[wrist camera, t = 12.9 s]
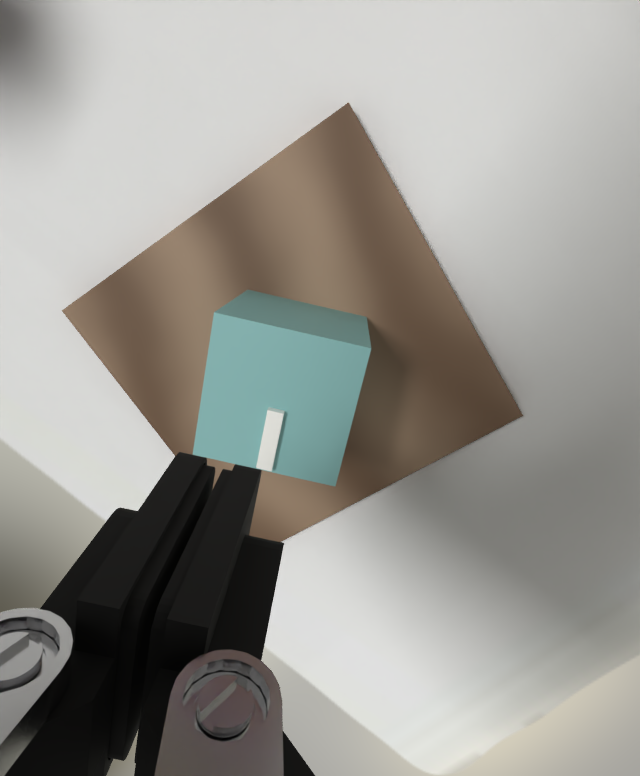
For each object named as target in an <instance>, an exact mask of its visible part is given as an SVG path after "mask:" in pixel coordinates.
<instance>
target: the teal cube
mask: <svg viewBox="0 0 640 776" xmlns="http://www.w3.org/2000/svg"><path fill="white" fill-rule="evenodd" d="M370 352H371V343H370V336H369V330H368V323H367V317H365V316H361V315H356V314H352V313H348V312H343V311H339V310H335V309H330V308H326V307H322V306H317V305H313V304H309V303H304V302H300V301H295V300H291V299H287V298H282V297H278V296H274V295H269V294H265V293H261V292H256V291H252V290H246V291H245V292H243V293H242V294H241V295H239V296H238V297H236V298H235V299H233V300H232V301H230V302H229V303H227V304H226V305H224V306H223V307H221V308H220V309H218V310H217V311H215V312H214V316H213V322H212V329H211V336H210V342H209V349H208V356H207V362H206V369H205V375H204V382H203V389H202V395H201V402H200V409H199V415H198V422H197V429H196V435H195V442H194V448H193V455H197V456H201V457H206V458H210V459H215V460H219V461H224V462H228V463H232V464H237V465H242V466H246V467H251V468H256V469H260V470H264V471H268V472H272V473H277V474H281V475H286V476H290V477H295V478H299V479H304V480H308V481H312V482H317V483H321V484H326V485H330V486H336V482H337V478H338V475H339V471H340V467H341V463H342V459H343V455H344V452H345V448H346V444H347V440H348V436H349V432H350V429H351V425H352V421H353V417H354V413H355V409H356V405H357V402H358V398H359V394H360V390H361V386H362V382H363V379H364V375H365V371H366V367H367V363H368V359H369V356H370Z"/></svg>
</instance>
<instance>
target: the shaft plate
mask: <svg viewBox="0 0 640 776" xmlns="http://www.w3.org/2000/svg"><path fill="white" fill-rule="evenodd" d="M246 290H252V291H256V292H261V293H265V294H269V295H274V296H278V297H282V298H287V299H291V300H295V301H300V302H304V303H309V304H313V305H317V306H322V307H326V308H330V309H335V310H339V311H343V312H348V313H352V314H356V315H361V316H365V317H367V323H368V330H369V336H370V343H371V352H370V356H369V359H368V363H367V367H366V371H365V375H364V379H363V382H362V386H361V390H360V394H359V398H358V402H357V405H356V409H355V413H354V417H353V421H352V425H351V429H350V432H349V436H348V440H347V444H346V448H345V452H344V455H343V459H342V463H341V467H340V471H339V475H338V478H337V482H336V486H330V485H326V484H321V483H317V482H312V481H308V480H304V479H299V478H295V477H290V476H286V475H281V474H277V473H272V472H268V471H264V470H262V472H261V478H260V483H259V488H258V493H257V498H256V503H255V508H254V513H253V518H252V523H251V528H250V533H249V536H254V537H258V538H263V539H268V540H272V541H277V542H281V541H283V540H285V539H287V538H289V537H291V536H293V535H295V534H296V533H298V532H300V531H302V530H304V529H306V528H308V527H310V526H312V525H314V524H316V523H318V522H320V521H321V520H323V519H325V518H327V517H329V516H331V515H333V514H335V513H337V512H339V511H341V510H343V509H345V508H346V507H348V506H350V505H352V504H354V503H356V502H358V501H360V500H362V499H364V498H366V497H368V496H369V495H371V494H373V493H375V492H377V491H379V490H381V489H383V488H385V487H387V486H389V485H391V484H393V483H394V482H396V481H398V480H400V479H402V478H404V477H406V476H408V475H410V474H412V473H414V472H416V471H418V470H419V469H421V468H423V467H425V466H427V465H429V464H431V463H433V462H435V461H437V460H439V459H441V458H443V457H444V456H446V455H448V454H450V453H452V452H454V451H456V450H458V449H460V448H462V447H464V446H466V445H467V444H469V443H471V442H473V441H475V440H477V439H479V438H481V437H483V436H485V435H487V434H489V433H491V432H492V431H494V430H496V429H498V428H500V427H502V426H504V425H506V424H508V423H510V422H512V421H514V420H516V419H517V418H519V417H521V416H523V415H522V413H521V411H520V410H519V408H518V406H517V404H516V402H515V401H514V399H513V397H512V395H511V393H510V392H509V390H508V388H507V386H506V384H505V383H504V381H503V379H502V377H501V375H500V374H499V372H498V370H497V368H496V366H495V365H494V363H493V361H492V359H491V357H490V356H489V354H488V352H487V350H486V348H485V347H484V345H483V343H482V341H481V340H480V338H479V336H478V334H477V332H476V331H475V329H474V327H473V325H472V323H471V322H470V320H469V318H468V316H467V314H466V313H465V311H464V309H463V307H462V305H461V304H460V302H459V300H458V298H457V296H456V295H455V293H454V291H453V289H452V287H451V286H450V284H449V282H448V280H447V278H446V277H445V275H444V273H443V271H442V269H441V268H440V266H439V264H438V262H437V260H436V259H435V257H434V255H433V253H432V251H431V250H430V248H429V246H428V244H427V242H426V241H425V239H424V237H423V235H422V233H421V232H420V230H419V228H418V226H417V224H416V223H415V221H414V219H413V217H412V216H411V214H410V212H409V210H408V208H407V207H406V205H405V203H404V201H403V199H402V198H401V196H400V194H399V192H398V190H397V189H396V187H395V185H394V183H393V181H392V180H391V178H390V176H389V174H388V172H387V171H386V169H385V167H384V165H383V163H382V162H381V160H380V158H379V156H378V154H377V153H376V151H375V149H374V147H373V145H372V144H371V142H370V140H369V138H368V136H367V135H366V133H365V131H364V129H363V127H362V126H361V124H360V122H359V120H358V118H357V117H356V115H355V113H354V111H353V109H352V108H351V106H350V104H349V103H347V104H346V105H344V106H343V107H342V108H340V109H339V110H338V111H336V112H335V113H333V114H332V115H331V116H329V117H328V118H327V119H325V120H324V121H322V122H321V123H320V124H318V125H317V126H316V127H314V128H313V129H311V130H310V131H309V132H307V133H306V134H305V135H303V136H302V137H300V138H299V139H298V140H296V141H295V142H294V143H292V144H291V145H289V146H288V147H287V148H285V149H284V150H283V151H281V152H280V153H278V154H277V155H276V156H274V157H273V158H271V159H270V160H269V161H267V162H266V163H265V164H263V165H262V166H260V167H259V168H258V169H256V170H255V171H254V172H252V173H251V174H249V175H248V176H247V177H245V178H244V179H243V180H241V181H240V182H238V183H237V184H236V185H234V186H233V187H232V188H230V189H229V190H227V191H226V192H225V193H223V194H222V195H221V196H219V197H218V198H216V199H215V200H214V201H212V202H211V203H210V204H208V205H207V206H205V207H204V208H203V209H201V210H200V211H199V212H197V213H196V214H194V215H193V216H192V217H190V218H189V219H187V220H186V221H185V222H183V223H182V224H181V225H179V226H178V227H176V228H175V229H174V230H172V231H171V232H170V233H168V234H167V235H165V236H164V237H163V238H161V239H160V240H159V241H157V242H156V243H154V244H153V245H152V246H150V247H149V248H148V249H146V250H145V251H143V252H142V253H141V254H139V255H138V256H137V257H135V258H134V259H132V260H131V261H130V262H128V263H127V264H126V265H124V266H123V267H121V268H120V269H119V270H117V271H116V272H114V273H113V274H112V275H110V276H109V277H108V278H106V279H105V280H103V281H102V282H101V283H99V284H98V285H97V286H95V287H94V288H92V289H91V290H90V291H88V292H87V293H86V294H84V295H83V296H81V297H80V298H79V299H77V300H76V301H75V302H73V303H72V304H70V305H69V306H68V307H66V308H65V309H64V310H62V311H63V313H64V314H65V315H66V317H67V318H68V319H69V320H70V322H71V323H72V324H73V326H74V327H75V328H76V329H77V331H78V332H79V333H80V334H81V336H82V337H83V338H84V340H85V341H86V342H87V343H88V345H89V346H90V347H91V349H92V350H93V351H94V352H95V354H96V355H97V356H98V358H99V359H100V360H101V361H102V363H103V364H104V365H105V367H106V368H107V369H108V370H109V372H110V373H111V374H112V375H113V377H114V378H115V379H116V381H117V382H118V383H119V384H120V386H121V387H122V388H123V390H124V391H125V392H126V393H127V395H128V396H129V397H130V399H131V400H132V401H133V402H134V404H135V405H136V406H137V408H138V409H139V410H140V411H141V413H142V414H143V415H144V416H145V418H146V419H147V420H148V422H149V423H150V424H151V425H152V427H153V428H154V429H155V431H156V432H157V433H158V434H159V436H160V437H161V438H162V440H163V441H164V442H165V443H166V445H167V446H168V447H169V449H170V450H171V451H172V452H173V454H174V455H175V456H176V455H177V454H178V453H179V452H183V453H187V454H192V455H193V448H194V442H195V435H196V429H197V422H198V415H199V409H200V402H201V395H202V389H203V382H204V375H205V369H206V362H207V356H208V349H209V342H210V336H211V329H212V322H213V316H214V312H215V311H217V310H218V309H220V308H221V307H223V306H224V305H226V304H227V303H229V302H230V301H232V300H233V299H235V298H236V297H238V296H239V295H241V294H242V293H243V292H245V291H246ZM196 456H197V455H196ZM205 458H206V457H205ZM207 465H208V466H213V467H215V477H214V483H213V488H214V486H215V484H216V482H217V480H218V478H219V476H220V473H221V471H222V470H223V469H226V470H231V471H232V469H233V467H234V465H235V464H232V463H228V462H224V461H219V460H215V459H210V458H207ZM212 490H213V489H212Z"/></svg>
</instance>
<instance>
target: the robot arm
mask: <svg viewBox="0 0 640 776" xmlns="http://www.w3.org/2000/svg"><path fill="white" fill-rule="evenodd" d="M261 472H262V470H260V469H256V468H251V467H246V466H242V465H237V464H235V465H234V467H233V469H232V471H231V470H226V469H223V470H222V471H221V473H220V476H219V478H218V480H217V482H216V484H215V486H214V488H213V483H214V477H215V467H213V466H208V465H207V458H205V457H201V456H196V455H192V454H187V453H183V452H179V453H178V454H177V455H176V456H175V458H174V459H173V461H172V462H171V464H170V465H169V467H168V468H167V469H166V471H165V472H164V474H163V475H162V477H161V478H160V480H159V481H158V483H157V484H156V486H155V487H154V488H153V490H152V491H151V493H150V494H149V496H148V497H147V499H146V500H145V502H144V503H143V505H142V506H141V507H140V509H139V510H138V511H134V510H129V509H124V508H118V509H116V510H115V512H114V513H113V514H112V515H111V516H110V517H109V519H108V520H107V521H106V523H105V524H104V525H103V527H102V528H101V529H100V531H99V532H98V533H97V535H96V536H95V537H94V539H93V540H92V541H91V543H90V544H89V545H88V547H87V548H86V549H85V550H84V552H83V553H82V554H81V556H80V557H79V558H78V560H77V561H76V562H75V564H74V565H73V566H72V567H71V569H70V570H69V571H68V573H67V574H66V575H65V577H64V578H63V579H62V581H61V582H60V583H59V585H58V586H57V587H56V589H55V590H54V591H53V592H52V594H51V595H50V596H49V598H48V599H47V600H46V602H45V603H44V604H43V606H42V607H41V608H40V609H37V608H20V609H13V610H8V611H4V612H0V776H106V775H107V772H108V770H109V768H110V765H111V763H112V761H113V759H118V760H123V761H124V760H125V759H126V757H127V755H128V753H129V751H130V748H131V746H132V743H133V741H134V738H135V736H136V733H137V731H138V737H137V745H136V753H135V763H136V768H135V774H134V776H315V775H314V774H313V772H312V771H311V769H310V768H309V767H308V765H307V764H306V762H305V761H304V760H303V758H302V757H301V755H300V754H299V753H298V751H297V750H296V748H295V747H294V746H293V744H292V743H291V742H290V740H289V739H288V737H287V736H286V734H285V733H284V732H283V727H282V726H283V724H282V723H283V722H282V698H281V692H280V687H279V684H278V682H277V680H276V678H275V676H274V674H273V672H272V671H271V670H270V669H269V668H268V667H267V666H266V665H265V664H264V663H263V662H262V661H261V658H262V653H263V648H264V643H265V638H266V633H267V628H268V622H269V617H270V612H271V607H272V602H273V597H274V592H275V586H276V581H277V576H278V571H279V566H280V561H281V556H282V550H283V545H284V543H282V542H277V541H272V540H268V539H263V538H258V537H254V536H249V533H250V528H251V523H252V518H253V513H254V508H255V503H256V498H257V493H258V488H259V483H260V478H261ZM212 489H213V490H212ZM138 728H139V730H138Z"/></svg>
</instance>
